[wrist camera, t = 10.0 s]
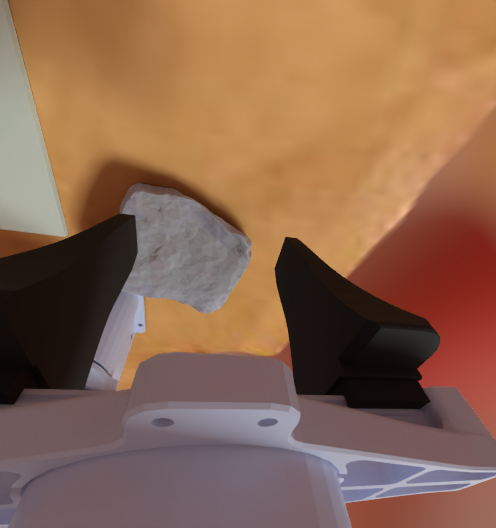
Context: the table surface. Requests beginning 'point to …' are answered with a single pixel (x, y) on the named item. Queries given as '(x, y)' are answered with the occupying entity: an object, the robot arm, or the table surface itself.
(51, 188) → the sage mat
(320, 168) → the table surface
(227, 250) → the stone block
